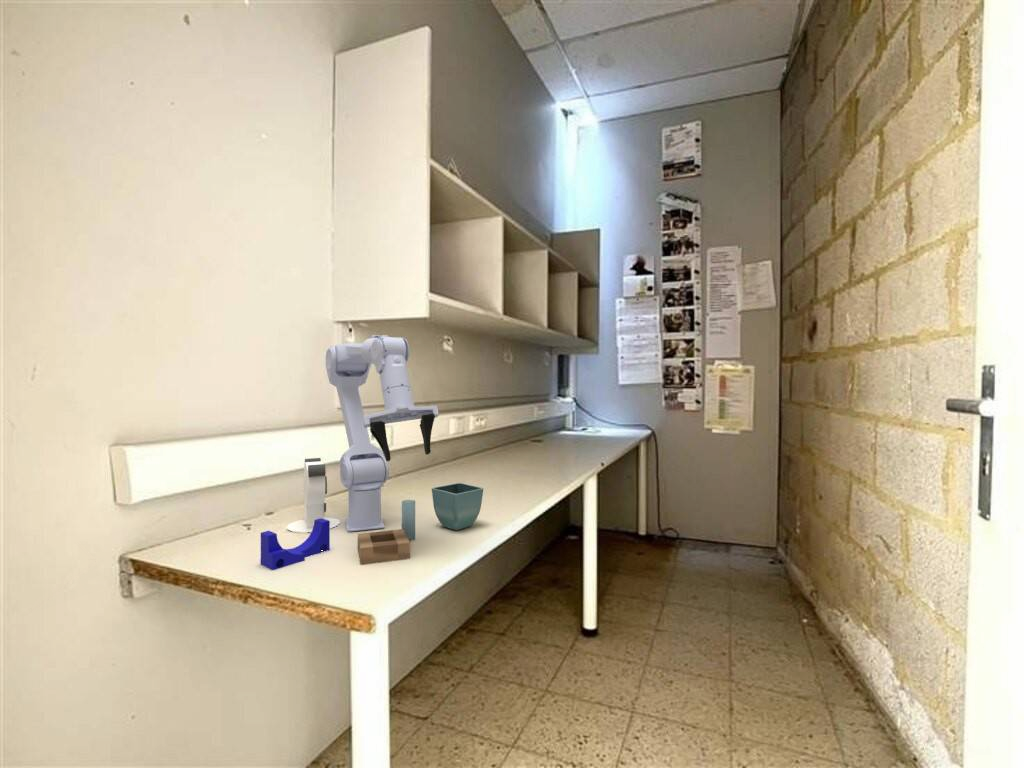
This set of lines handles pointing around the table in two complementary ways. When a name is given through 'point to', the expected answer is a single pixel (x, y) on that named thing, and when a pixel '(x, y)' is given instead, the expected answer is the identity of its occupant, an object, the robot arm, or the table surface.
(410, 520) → the blue-gray dowel
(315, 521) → the blue cradle bracket
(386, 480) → the robot arm
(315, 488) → the white tower device
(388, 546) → the open cardboard frame
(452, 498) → the flower pot
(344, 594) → the table surface
